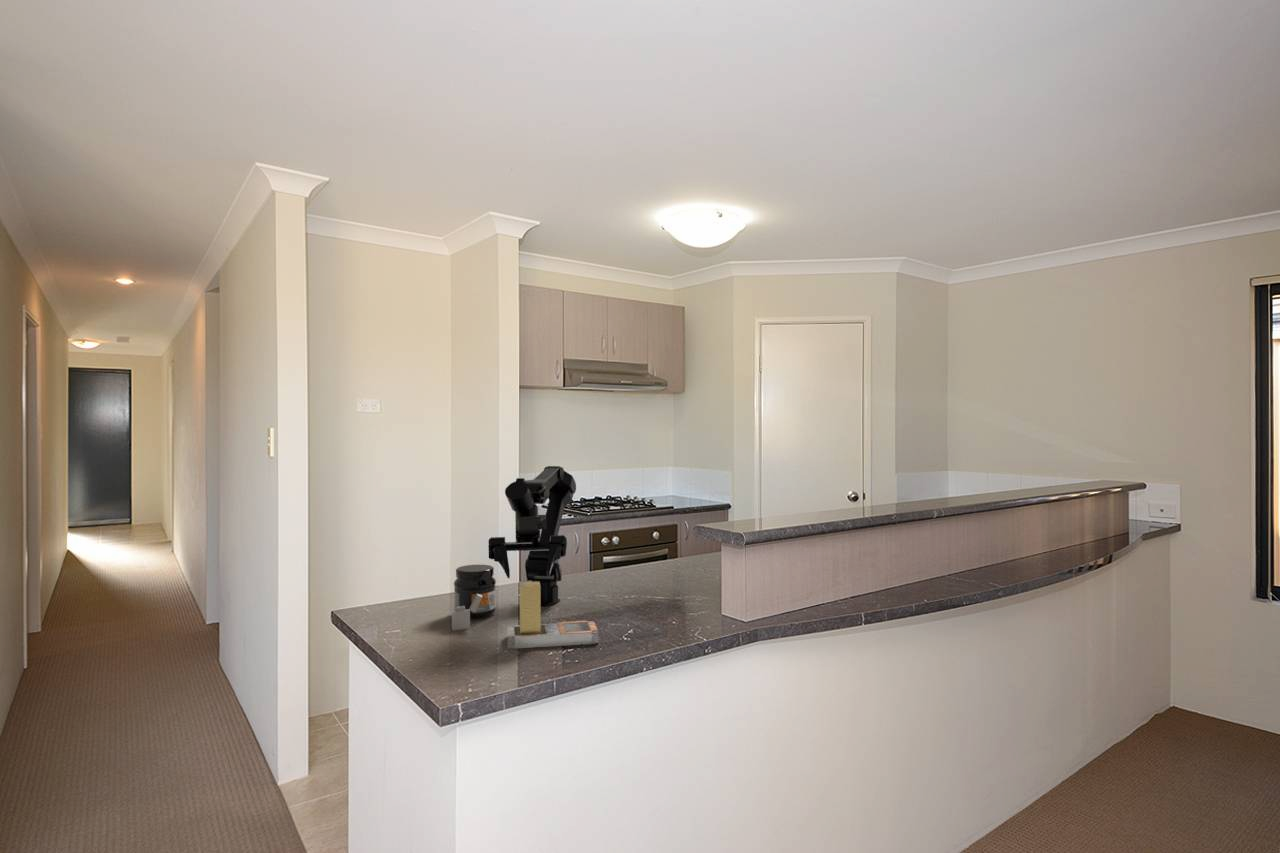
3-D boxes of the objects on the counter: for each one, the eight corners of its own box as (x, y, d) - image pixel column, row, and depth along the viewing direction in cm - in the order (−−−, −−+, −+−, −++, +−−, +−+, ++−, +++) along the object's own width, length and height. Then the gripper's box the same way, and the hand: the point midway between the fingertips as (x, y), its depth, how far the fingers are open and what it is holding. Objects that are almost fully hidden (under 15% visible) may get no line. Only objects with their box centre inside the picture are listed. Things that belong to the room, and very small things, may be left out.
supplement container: (501, 616, 181) (501, 569, 181) (460, 622, 176) (460, 574, 176) (488, 607, 190) (488, 562, 190) (448, 612, 185) (448, 566, 185)
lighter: (452, 630, 169) (452, 596, 169) (451, 628, 171) (451, 595, 171) (482, 627, 172) (482, 594, 172) (481, 625, 173) (481, 592, 173)
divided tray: (507, 648, 156) (507, 636, 156) (507, 636, 165) (507, 624, 165) (598, 643, 160) (598, 631, 160) (593, 631, 168) (593, 620, 168)
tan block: (520, 645, 158) (520, 586, 158) (519, 638, 163) (519, 582, 163) (540, 643, 159) (540, 586, 159) (539, 637, 164) (539, 581, 164)
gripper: (488, 504, 171) (487, 558, 161) (566, 502, 175) (570, 555, 164) (489, 531, 179) (488, 585, 168) (563, 529, 183) (567, 582, 172)
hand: (528, 576), depth 168 cm, fingers open, 9 cm apart
